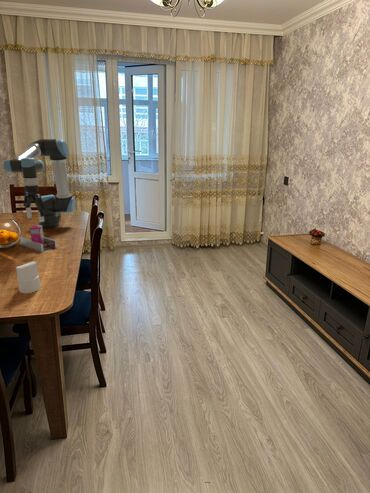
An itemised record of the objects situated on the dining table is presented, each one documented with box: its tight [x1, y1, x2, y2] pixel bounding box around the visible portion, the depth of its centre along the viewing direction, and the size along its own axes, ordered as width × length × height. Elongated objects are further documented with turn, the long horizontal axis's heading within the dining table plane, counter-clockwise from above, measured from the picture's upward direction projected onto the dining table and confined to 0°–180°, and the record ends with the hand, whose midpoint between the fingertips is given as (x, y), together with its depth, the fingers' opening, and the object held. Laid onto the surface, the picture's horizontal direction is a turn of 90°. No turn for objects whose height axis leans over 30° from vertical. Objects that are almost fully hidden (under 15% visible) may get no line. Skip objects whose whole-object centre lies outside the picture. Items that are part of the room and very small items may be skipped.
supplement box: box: [29, 224, 45, 244], centre depth 212 cm, size 6×6×12 cm
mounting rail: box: [19, 236, 59, 253], centre depth 213 cm, size 24×12×6 cm, turn 53°
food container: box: [56, 212, 62, 221], centre depth 285 cm, size 12×6×10 cm, turn 71°
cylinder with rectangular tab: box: [15, 261, 41, 294], centre depth 157 cm, size 9×9×12 cm
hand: (35, 219), depth 209 cm, fingers open, 13 cm apart
